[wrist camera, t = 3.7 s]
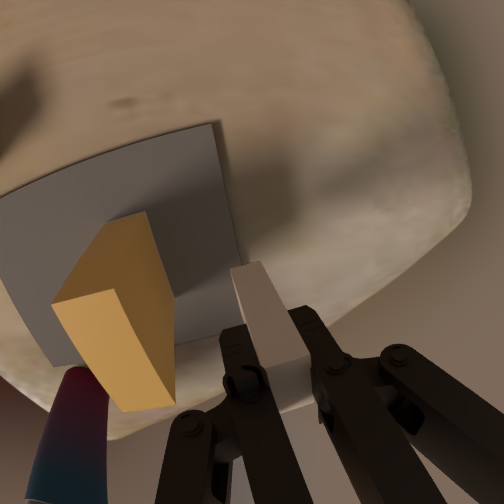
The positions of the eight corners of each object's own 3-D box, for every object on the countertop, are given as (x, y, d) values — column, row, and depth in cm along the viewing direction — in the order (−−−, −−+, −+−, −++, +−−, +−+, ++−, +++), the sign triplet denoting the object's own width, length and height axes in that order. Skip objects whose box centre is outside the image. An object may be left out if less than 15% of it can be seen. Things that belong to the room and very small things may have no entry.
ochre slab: (105, 222, 19) (50, 304, 10) (145, 210, 19) (113, 288, 10) (138, 306, 22) (122, 412, 13) (174, 297, 22) (175, 404, 13)
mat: (-22, 210, 16) (-26, 212, 15) (210, 123, 18) (211, 123, 17) (55, 363, 23) (53, 367, 22) (253, 320, 25) (255, 325, 24)
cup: (126, 403, 27) (123, 532, 13) (72, 403, 25) (54, 521, 12) (104, 359, 24) (83, 510, 10) (46, 360, 22) (7, 491, 9)
